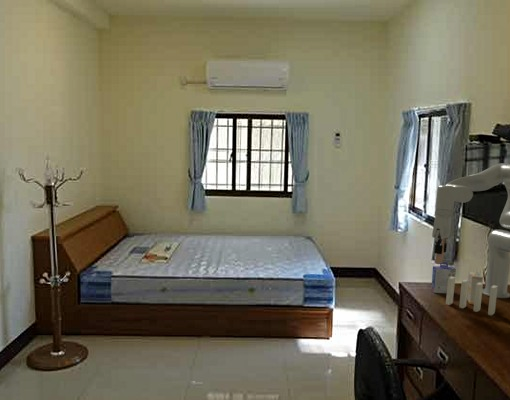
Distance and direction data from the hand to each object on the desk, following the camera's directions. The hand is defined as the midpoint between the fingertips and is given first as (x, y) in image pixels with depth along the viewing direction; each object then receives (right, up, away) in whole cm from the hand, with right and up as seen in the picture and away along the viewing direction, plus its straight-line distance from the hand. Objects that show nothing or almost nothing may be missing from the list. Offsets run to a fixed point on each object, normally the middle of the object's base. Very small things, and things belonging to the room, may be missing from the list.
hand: (440, 252), depth 234 cm
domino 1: (0, -5, +1) cm, 5 cm away
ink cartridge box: (+7, -21, +17) cm, 28 cm away
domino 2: (+4, -23, -1) cm, 23 cm away
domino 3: (+8, -24, -5) cm, 25 cm away
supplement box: (+16, -23, +3) cm, 28 cm away
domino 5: (+17, -25, -12) cm, 33 cm away
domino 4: (+13, -24, -9) cm, 29 cm away
